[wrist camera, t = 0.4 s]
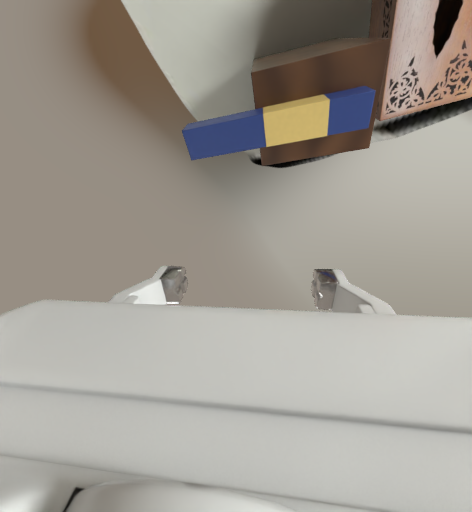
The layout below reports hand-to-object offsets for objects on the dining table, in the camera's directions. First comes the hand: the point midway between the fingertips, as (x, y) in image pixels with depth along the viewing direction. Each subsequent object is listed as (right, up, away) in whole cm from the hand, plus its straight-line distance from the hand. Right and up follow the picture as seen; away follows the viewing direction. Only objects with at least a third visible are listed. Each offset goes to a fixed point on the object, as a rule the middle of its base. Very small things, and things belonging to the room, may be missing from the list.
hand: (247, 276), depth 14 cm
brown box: (+12, +38, +34) cm, 52 cm away
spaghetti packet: (+4, +20, +18) cm, 27 cm away
